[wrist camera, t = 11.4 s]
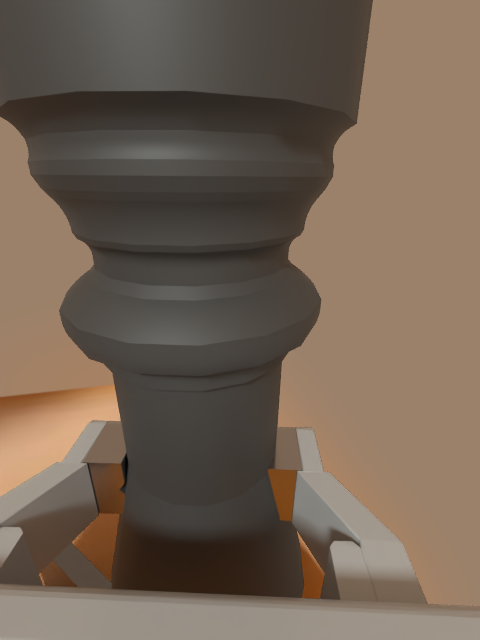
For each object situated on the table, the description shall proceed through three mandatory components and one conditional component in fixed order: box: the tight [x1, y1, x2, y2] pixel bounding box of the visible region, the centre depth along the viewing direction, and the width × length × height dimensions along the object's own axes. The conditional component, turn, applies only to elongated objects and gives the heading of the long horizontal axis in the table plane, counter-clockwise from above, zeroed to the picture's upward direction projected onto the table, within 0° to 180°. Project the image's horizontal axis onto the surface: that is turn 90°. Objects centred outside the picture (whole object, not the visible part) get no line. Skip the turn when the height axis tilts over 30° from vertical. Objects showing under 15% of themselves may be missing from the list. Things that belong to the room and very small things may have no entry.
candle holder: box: [0, 0, 373, 598], centre depth 10 cm, size 6×6×25 cm
